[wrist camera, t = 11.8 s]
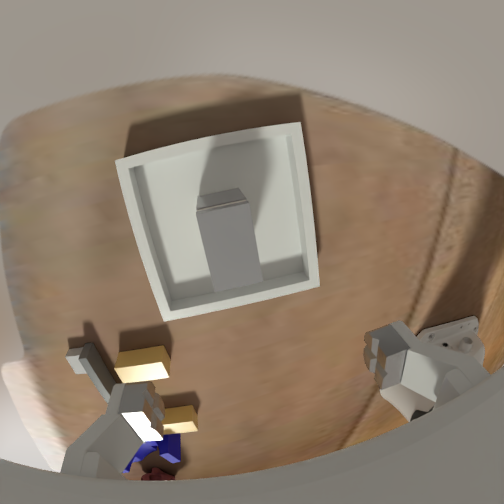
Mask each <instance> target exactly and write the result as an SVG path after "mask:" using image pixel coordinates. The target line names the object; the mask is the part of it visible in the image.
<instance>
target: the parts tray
mask: <svg viewBox="0 0 504 504" xmlns="http://www.w3.org/2000/svg"><path fill="white" fill-rule="evenodd" d="M115 163H116V168H117V172H118V176H119V180H120V184H121V188H122V192H123V196H124V200H125V204H126V207H127V211H128V215H129V218H130V222H131V225H132V229H133V232H134V235H135V239H136V242H137V245H138V248H139V252H140V255H141V258H142V261H143V264H144V267H145V270H146V273H147V276H148V279H149V282H150V285H151V288H152V290H153V293H154V296H155V299H156V302H157V304H158V307H159V310H160V312H161V315H162V317H163V320H164V321H169V320H174V319H179V318H184V317H189V316H194V315H199V314H204V313H209V312H213V311H218V310H223V309H227V308H232V307H236V306H241V305H245V304H250V303H254V302H258V301H263V300H267V299H271V298H275V297H279V296H283V295H288V294H292V293H296V292H300V291H304V290H308V289H311V288H315V287H319V286H320V284H319V271H318V259H317V247H316V237H315V227H314V218H313V209H312V200H311V192H310V184H309V176H308V168H307V161H306V154H305V147H304V141H303V134H302V128H301V122H296V123H287V124H280V125H272V126H265V127H259V128H252V129H246V130H241V131H235V132H229V133H224V134H219V135H214V136H209V137H204V138H199V139H195V140H190V141H186V142H182V143H178V144H173V145H169V146H165V147H161V148H158V149H154V150H150V151H146V152H143V153H139V154H136V155H132V156H129V157H125V158H122V159H119V160H116V161H115ZM232 188H239V189H240V190H241V192H242V193H243V194H244V196H245V197H246V200H247V201H248V202H249V204H250V209H251V215H252V220H253V226H254V232H255V237H256V243H257V249H258V254H259V260H260V266H261V272H262V277H263V282H259V283H255V284H251V285H246V286H242V287H237V288H233V289H228V290H224V291H219V292H215V290H214V286H213V283H212V279H211V275H210V271H209V267H208V263H207V259H206V255H205V251H204V247H203V243H202V239H201V234H200V230H199V226H198V222H197V217H196V212H197V210H196V205H197V196H199V195H204V194H208V193H213V192H218V191H223V190H227V189H232Z"/></svg>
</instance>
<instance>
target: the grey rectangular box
mask: <svg viewBox="0 0 504 504" xmlns="http://www.w3.org/2000/svg"><path fill="white" fill-rule="evenodd" d="M196 210H197V212H196V217H197V222H198V226H199V230H200V234H201V239H202V243H203V247H204V251H205V255H206V259H207V263H208V267H209V271H210V275H211V279H212V283H213V286H214V290H215V292H219V291H224V290H228V289H233V288H237V287H242V286H246V285H251V284H255V283H259V282H263V277H262V272H261V266H260V260H259V254H258V249H257V243H256V237H255V232H254V226H253V220H252V215H251V209H250V204H249V202H248V201H247V200H246V197H245V196H244V194H243V193H242V192H241V190H240V189H239V188H232V189H227V190H223V191H218V192H213V193H208V194H204V195H199V196H197V205H196Z"/></svg>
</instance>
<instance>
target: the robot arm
mask: <svg viewBox="0 0 504 504" xmlns="http://www.w3.org/2000/svg"><path fill="white" fill-rule="evenodd" d="M477 333H478V319H477V318H476V317H475V316H471V317H467V318H464V319H461V320H457V321H454V322H450V323H446V324H443V325H439V326H435V327H431V328H427V329H424V330H422V331H421V332H420V333H419V334H418V336H417V337H416V336H415V335H414V334H413V333H412V332H411V330H410V329H409V328H408V327H407V326H406V325H405V324H404V323H403V322H402V321H400V320H398V321H396V322H393V323H391V324H388V325H385V326H383V327H380V328H377V329H374V330H371V331H368V332H366V333H365V335H364V341H365V343H366V344H367V345H366V346H365V348H364V353H363V356H364V361H365V364H366V366H367V368H368V370H369V371H370V372H373V373H375V376H374V379H375V381H376V383H377V384H378V386H379V387H380V393H381V396H382V397H383V398H384V399H386V400H387V401H389V402H390V403H391V404H392V405H393V406H394V407H396V408H397V409H398V410H399V411H400V412H401V413H402V415H403V416H404V417H405V418H406V419H407V420H408V421H409V423H407V424H405V425H402V426H400V427H398V428H396V429H393V430H391V431H389V432H386V433H384V434H382V435H379V436H377V437H374V438H372V439H369V440H367V441H364V442H361V443H359V444H356V445H353V446H350V447H347V448H345V449H342V450H339V451H335V452H332V453H329V454H326V455H323V456H319V457H316V458H312V459H309V460H305V461H301V462H297V463H293V464H289V465H285V466H280V467H276V468H271V469H266V470H261V471H255V472H250V473H243V474H237V475H230V476H222V477H213V478H203V479H190V480H170V481H134V480H128V479H126V478H125V477H124V476H123V475H122V472H123V471H124V469H125V468H126V467H127V465H128V464H129V462H130V461H131V459H132V458H133V457H134V455H135V454H136V452H137V451H138V449H139V448H140V446H141V445H142V444H143V441H155V440H163V432H164V426H163V424H162V423H161V421H162V420H163V419H164V418H165V407H164V403H163V400H162V398H161V396H160V395H159V394H157V393H155V386H154V384H153V383H152V382H151V381H144V382H132V383H122V384H115V385H114V386H113V389H112V392H111V396H110V399H109V403H108V407H107V410H106V414H105V415H101V416H100V417H99V418H98V419H97V420H96V421H95V422H94V423H93V424H92V425H91V426H90V427H89V428H88V429H87V430H86V431H85V432H84V433H83V434H82V435H81V436H80V437H79V438H78V439H77V440H76V441H75V442H74V443H73V444H71V445H70V446H69V447H68V448H67V450H66V454H65V457H64V461H63V465H62V468H61V472H60V473H58V472H52V471H47V470H42V469H37V468H33V467H29V466H25V465H21V464H17V463H14V462H10V461H7V460H4V459H0V504H504V366H503V367H501V368H500V369H499V370H497V371H496V372H494V373H493V374H492V375H490V374H489V373H488V372H487V371H486V369H485V368H484V367H483V361H484V355H485V348H484V345H483V343H482V341H481V340H480V338H479V337H478V336H477Z"/></svg>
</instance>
